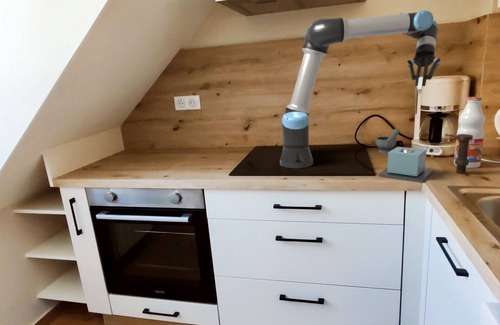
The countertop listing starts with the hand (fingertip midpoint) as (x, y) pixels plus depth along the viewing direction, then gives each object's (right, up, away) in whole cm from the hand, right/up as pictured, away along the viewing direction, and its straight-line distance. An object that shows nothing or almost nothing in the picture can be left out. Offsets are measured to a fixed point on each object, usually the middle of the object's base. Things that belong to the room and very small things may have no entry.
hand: (419, 91), depth 142 cm
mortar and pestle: (-1, -24, +31) cm, 40 cm away
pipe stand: (-8, -34, -5) cm, 35 cm away
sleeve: (-8, -33, -5) cm, 34 cm away
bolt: (+12, -34, -7) cm, 37 cm away
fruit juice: (+21, -31, +2) cm, 37 cm away
